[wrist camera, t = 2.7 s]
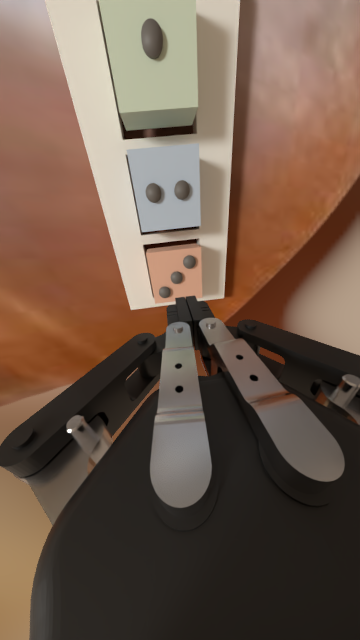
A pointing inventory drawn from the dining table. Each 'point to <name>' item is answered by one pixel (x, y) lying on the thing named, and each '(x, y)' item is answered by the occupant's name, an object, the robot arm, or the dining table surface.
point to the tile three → (175, 272)
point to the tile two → (166, 186)
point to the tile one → (153, 60)
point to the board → (111, 147)
